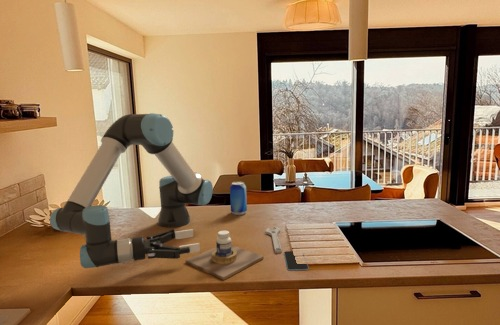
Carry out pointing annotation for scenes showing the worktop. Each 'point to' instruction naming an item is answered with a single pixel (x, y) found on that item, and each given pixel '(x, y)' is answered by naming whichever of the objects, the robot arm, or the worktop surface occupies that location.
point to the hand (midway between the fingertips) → (196, 239)
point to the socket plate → (224, 268)
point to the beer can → (238, 198)
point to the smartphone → (293, 262)
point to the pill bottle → (223, 244)
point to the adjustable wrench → (275, 238)
